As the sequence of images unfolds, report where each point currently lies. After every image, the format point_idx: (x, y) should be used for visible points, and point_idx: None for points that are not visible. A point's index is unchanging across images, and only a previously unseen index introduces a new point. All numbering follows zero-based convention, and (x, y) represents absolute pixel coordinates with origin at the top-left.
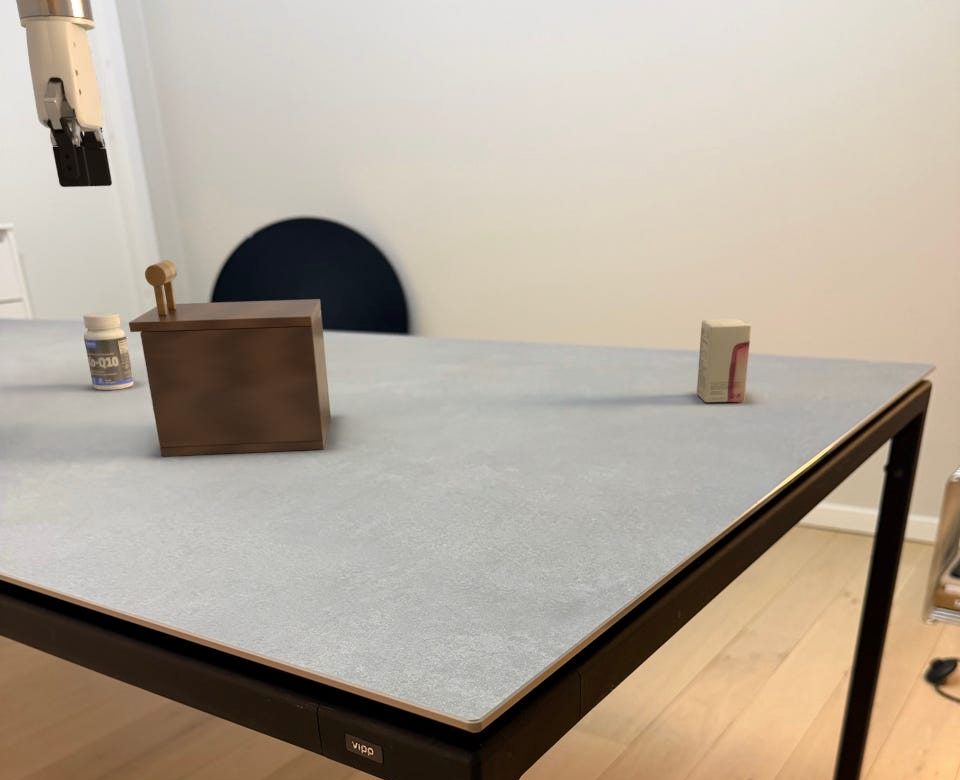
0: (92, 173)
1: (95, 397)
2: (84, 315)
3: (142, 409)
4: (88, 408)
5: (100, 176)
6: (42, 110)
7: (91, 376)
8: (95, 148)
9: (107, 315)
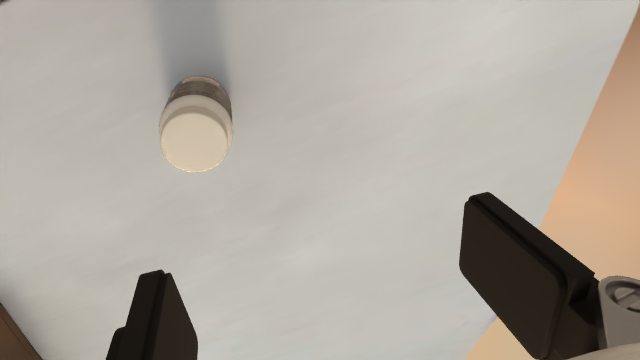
0: (486, 251)
1: (120, 110)
2: (175, 119)
3: (55, 206)
4: (42, 134)
5: (476, 266)
6: None
7: (178, 85)
8: (558, 342)
9: (180, 162)
